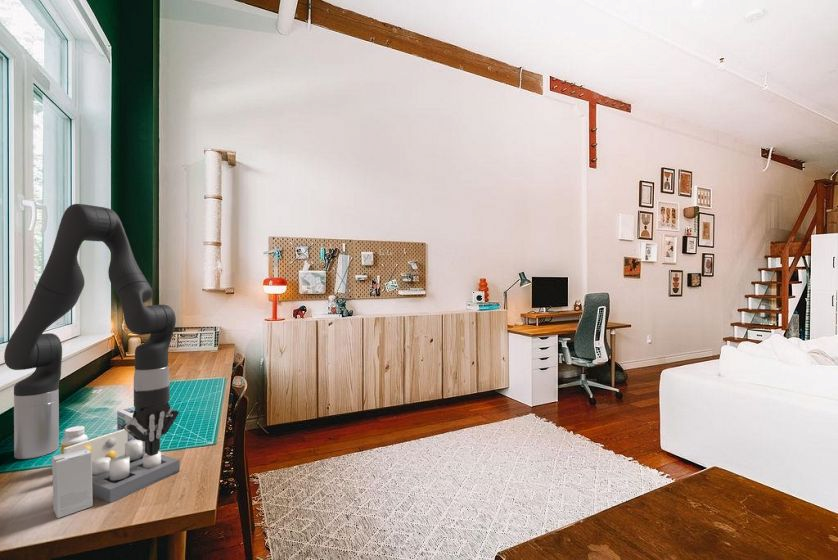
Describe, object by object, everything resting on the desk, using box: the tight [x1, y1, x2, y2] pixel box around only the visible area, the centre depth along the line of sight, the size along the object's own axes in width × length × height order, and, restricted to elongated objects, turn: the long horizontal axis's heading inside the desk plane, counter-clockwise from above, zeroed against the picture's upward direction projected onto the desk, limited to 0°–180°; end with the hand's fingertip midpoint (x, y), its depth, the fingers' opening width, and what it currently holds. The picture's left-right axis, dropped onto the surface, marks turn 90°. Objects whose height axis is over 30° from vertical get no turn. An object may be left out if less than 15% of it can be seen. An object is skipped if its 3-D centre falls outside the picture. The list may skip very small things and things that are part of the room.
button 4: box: [143, 450, 162, 469], centre depth 102 cm, size 4×4×4 cm
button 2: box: [109, 456, 130, 481], centre depth 96 cm, size 4×4×4 cm
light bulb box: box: [116, 406, 145, 450], centre depth 119 cm, size 11×7×11 cm, turn 55°
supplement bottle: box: [60, 425, 89, 454], centre depth 108 cm, size 5×5×10 cm
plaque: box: [64, 429, 128, 461], centre depth 106 cm, size 1×14×8 cm, turn 155°
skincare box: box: [51, 448, 94, 519], centre depth 87 cm, size 6×4×12 cm
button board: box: [92, 450, 181, 504], centre depth 101 cm, size 16×16×3 cm
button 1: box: [92, 457, 111, 477], centre depth 99 cm, size 4×4×4 cm
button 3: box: [125, 440, 143, 461], centre depth 106 cm, size 4×4×4 cm
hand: (152, 454), depth 102 cm, fingers closed
